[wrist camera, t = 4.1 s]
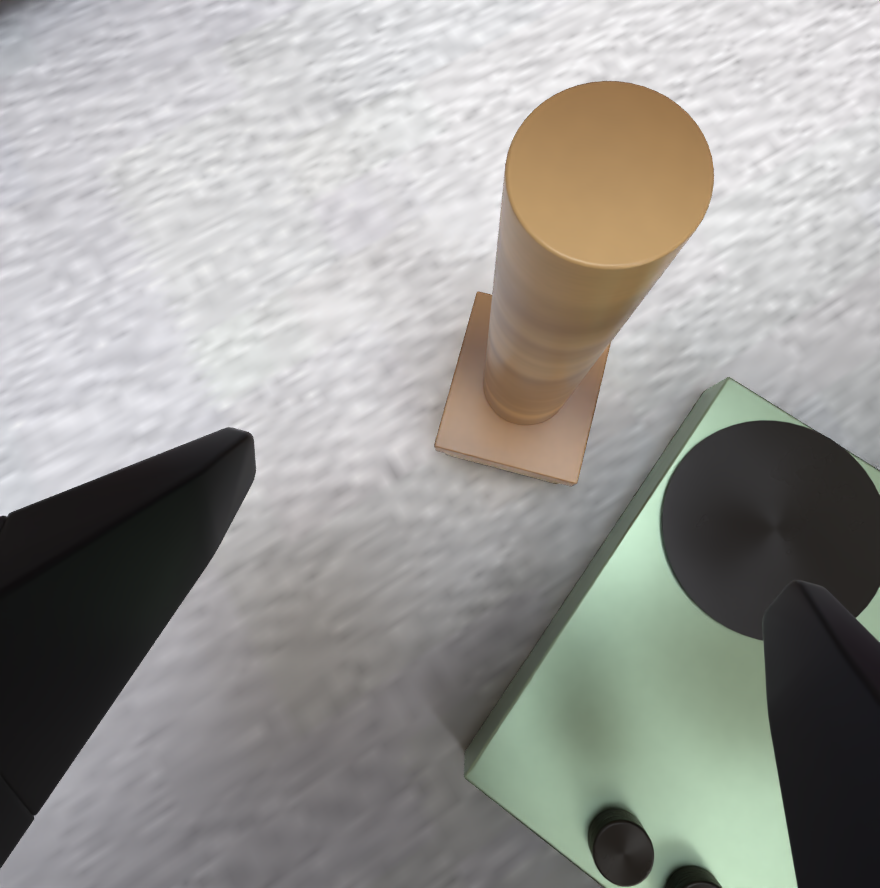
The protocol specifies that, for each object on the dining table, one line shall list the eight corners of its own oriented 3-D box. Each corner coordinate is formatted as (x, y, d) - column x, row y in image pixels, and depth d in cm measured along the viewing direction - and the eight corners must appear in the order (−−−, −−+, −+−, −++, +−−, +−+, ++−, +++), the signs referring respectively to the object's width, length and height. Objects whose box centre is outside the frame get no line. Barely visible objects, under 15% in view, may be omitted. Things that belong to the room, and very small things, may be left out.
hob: (1000, 1171, 17) (1105, 1297, 14) (463, 752, 19) (462, 790, 17) (1230, 721, 18) (1365, 754, 16) (704, 389, 21) (740, 368, 18)
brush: (561, 490, 21) (750, 411, 7) (438, 458, 21) (381, 321, 7) (595, 351, 21) (825, 27, 8) (475, 323, 22) (488, -35, 8)
